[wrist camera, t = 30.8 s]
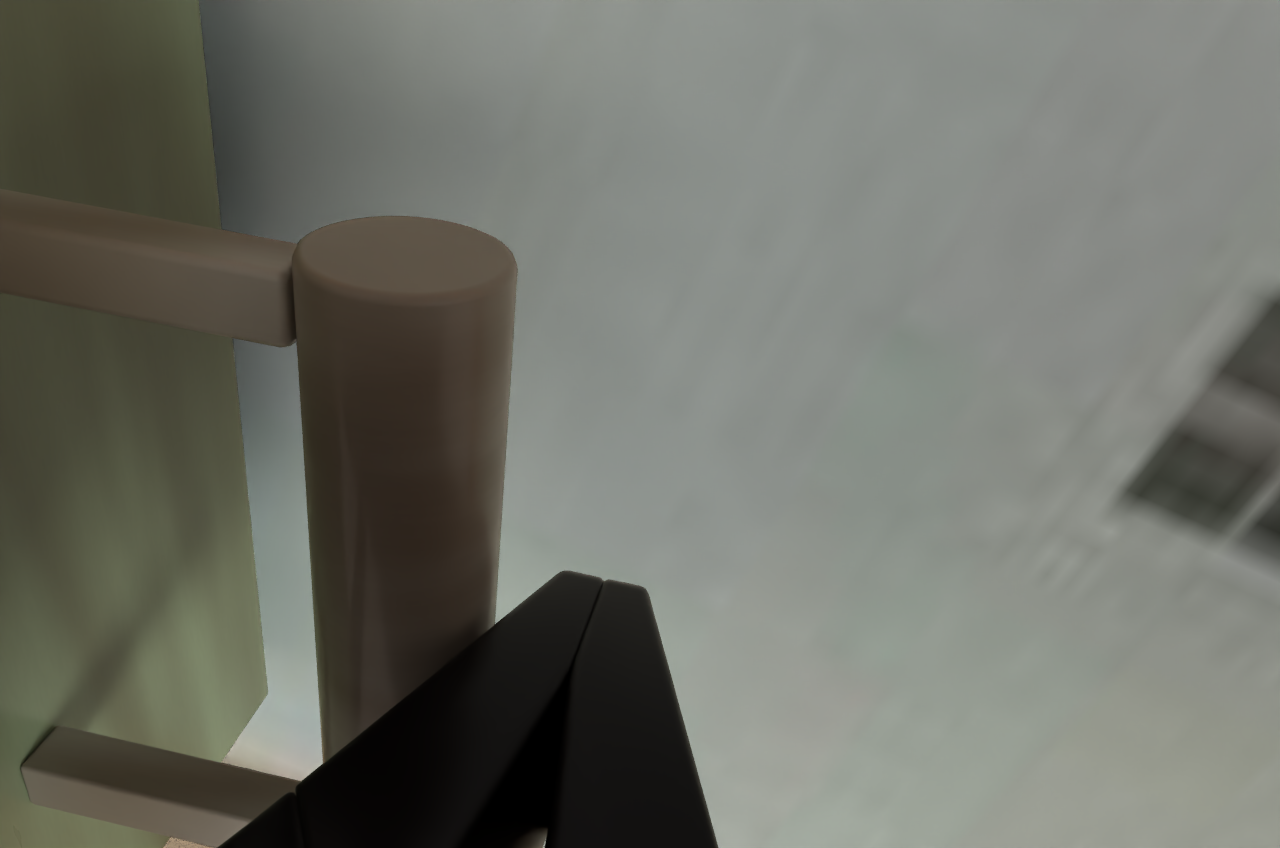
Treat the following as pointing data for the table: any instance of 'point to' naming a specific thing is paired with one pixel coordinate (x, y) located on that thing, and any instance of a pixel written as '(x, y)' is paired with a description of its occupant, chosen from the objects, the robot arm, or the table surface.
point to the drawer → (210, 441)
